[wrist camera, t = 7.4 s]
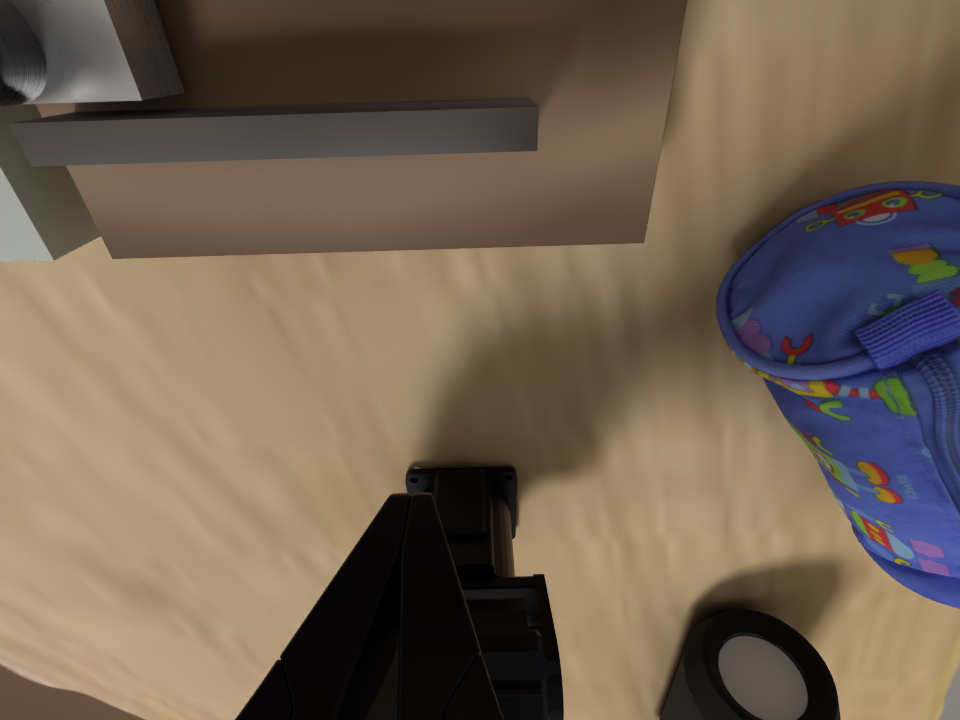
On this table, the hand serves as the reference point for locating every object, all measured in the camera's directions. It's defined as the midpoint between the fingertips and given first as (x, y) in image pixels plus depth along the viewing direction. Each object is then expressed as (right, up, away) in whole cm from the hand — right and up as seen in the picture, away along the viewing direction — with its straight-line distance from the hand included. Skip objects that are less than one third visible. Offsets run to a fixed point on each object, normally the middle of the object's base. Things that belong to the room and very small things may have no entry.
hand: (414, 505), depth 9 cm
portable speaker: (+22, -26, +34) cm, 48 cm away
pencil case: (+20, +2, +15) cm, 25 cm away
